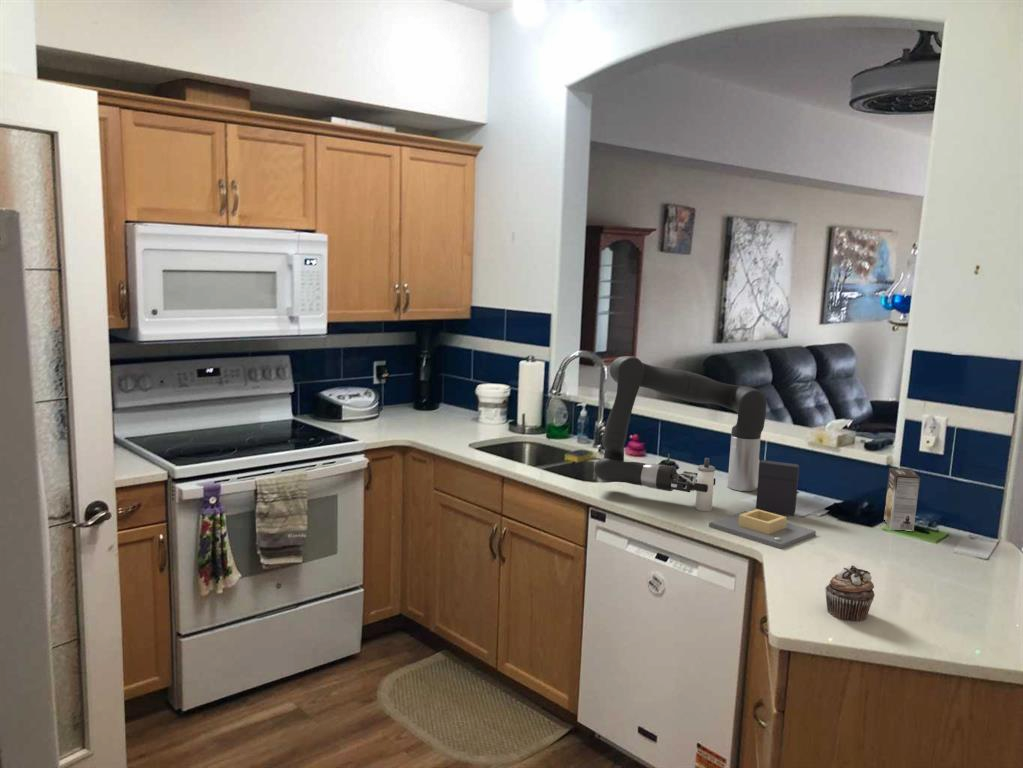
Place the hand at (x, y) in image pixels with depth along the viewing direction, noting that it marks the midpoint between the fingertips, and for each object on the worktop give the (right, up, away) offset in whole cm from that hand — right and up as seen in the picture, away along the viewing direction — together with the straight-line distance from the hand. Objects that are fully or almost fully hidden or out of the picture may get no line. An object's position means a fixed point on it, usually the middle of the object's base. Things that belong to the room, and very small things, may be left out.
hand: (711, 485), depth 244 cm
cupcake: (+12, -19, -69) cm, 73 cm away
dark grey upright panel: (+19, -8, +1) cm, 21 cm away
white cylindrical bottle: (-2, -7, +2) cm, 8 cm away
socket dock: (+10, -11, -17) cm, 22 cm away
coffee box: (+51, -11, -9) cm, 53 cm away
